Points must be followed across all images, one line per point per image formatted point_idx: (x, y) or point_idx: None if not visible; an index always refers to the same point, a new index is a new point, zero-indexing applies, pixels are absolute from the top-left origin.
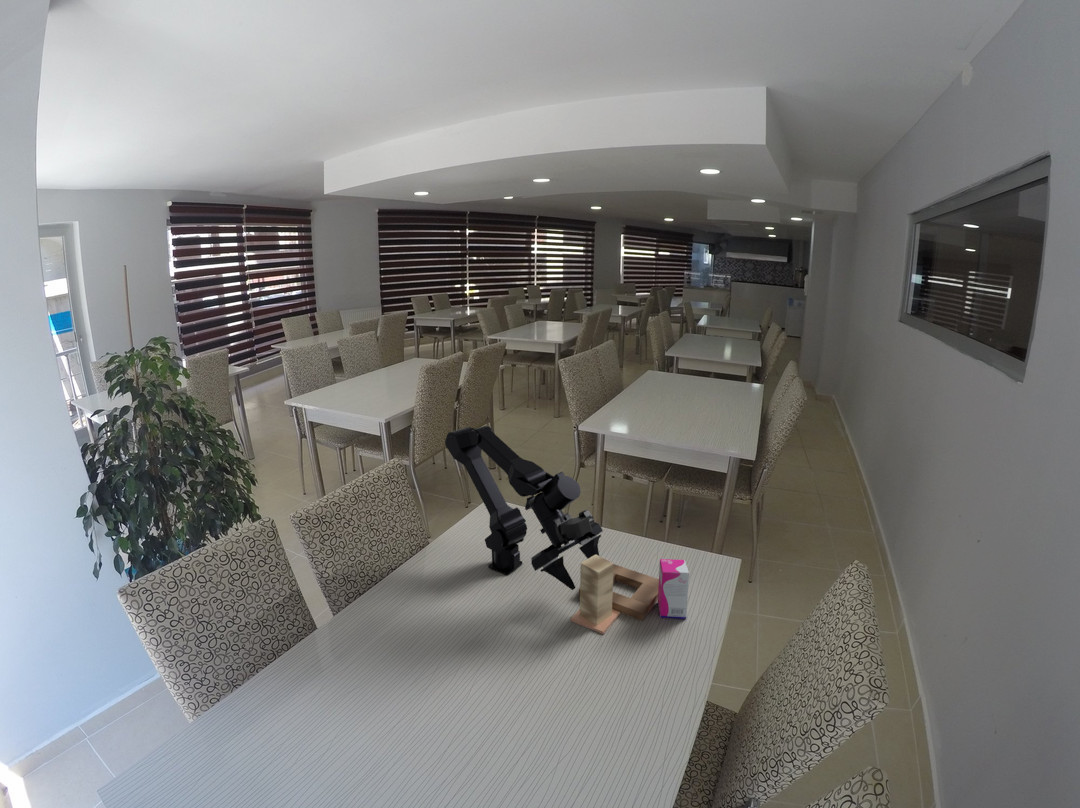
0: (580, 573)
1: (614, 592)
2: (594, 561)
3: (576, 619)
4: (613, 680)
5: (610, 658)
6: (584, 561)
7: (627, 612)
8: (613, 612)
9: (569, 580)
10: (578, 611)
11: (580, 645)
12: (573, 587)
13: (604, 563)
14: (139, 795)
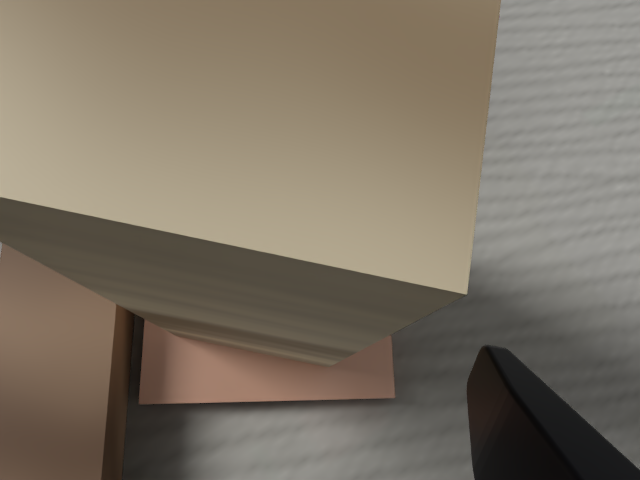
0: (396, 329)
1: (3, 250)
2: (210, 55)
3: (379, 360)
4: (610, 12)
5: (507, 73)
6: (349, 245)
7: None
8: None
9: (579, 416)
10: (300, 394)
11: (530, 235)
12: (512, 358)
13: None
14: None
